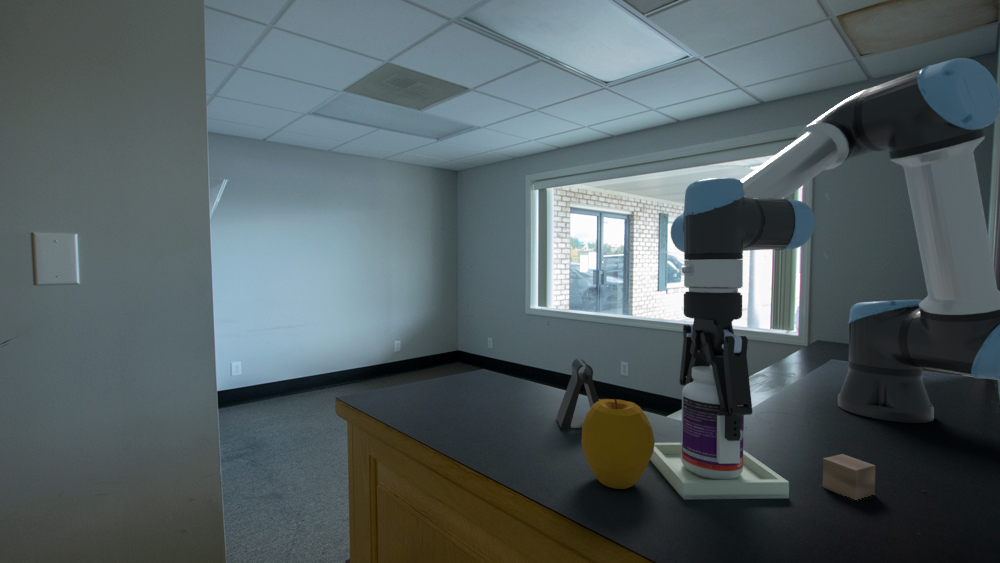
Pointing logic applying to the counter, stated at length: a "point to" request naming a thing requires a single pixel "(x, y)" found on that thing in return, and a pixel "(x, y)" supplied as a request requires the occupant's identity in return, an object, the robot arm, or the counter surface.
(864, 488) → the walnut block
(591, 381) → the phone stand
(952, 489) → the counter surface
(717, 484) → the tray
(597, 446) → the apple
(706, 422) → the pill bottle
